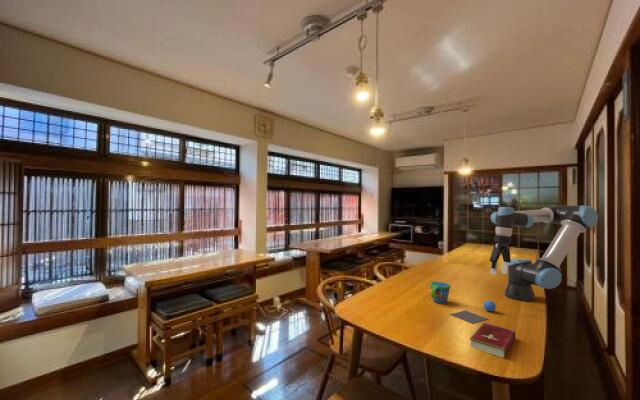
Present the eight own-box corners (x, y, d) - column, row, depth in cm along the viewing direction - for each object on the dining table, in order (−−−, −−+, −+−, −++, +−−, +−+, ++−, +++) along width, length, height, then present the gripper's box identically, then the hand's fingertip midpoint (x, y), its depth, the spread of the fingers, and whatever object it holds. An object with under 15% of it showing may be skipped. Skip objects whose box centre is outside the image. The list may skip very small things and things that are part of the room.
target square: (465, 310, 150) (465, 310, 150) (488, 319, 139) (488, 318, 139) (450, 314, 144) (450, 314, 144) (472, 323, 133) (472, 323, 133)
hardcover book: (515, 340, 119) (515, 330, 119) (505, 360, 104) (505, 348, 104) (483, 331, 127) (483, 321, 127) (469, 348, 112) (469, 337, 112)
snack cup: (439, 296, 171) (440, 279, 171) (456, 302, 162) (456, 284, 162) (423, 301, 163) (423, 283, 163) (440, 307, 154) (440, 288, 154)
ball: (491, 309, 152) (491, 299, 152) (498, 313, 147) (498, 302, 147) (481, 309, 152) (481, 299, 152) (487, 313, 147) (488, 302, 147)
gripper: (505, 235, 166) (501, 271, 165) (485, 233, 151) (480, 273, 150) (520, 237, 159) (515, 275, 159) (500, 235, 145) (496, 277, 144)
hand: (498, 274), depth 155 cm, fingers open, 13 cm apart
